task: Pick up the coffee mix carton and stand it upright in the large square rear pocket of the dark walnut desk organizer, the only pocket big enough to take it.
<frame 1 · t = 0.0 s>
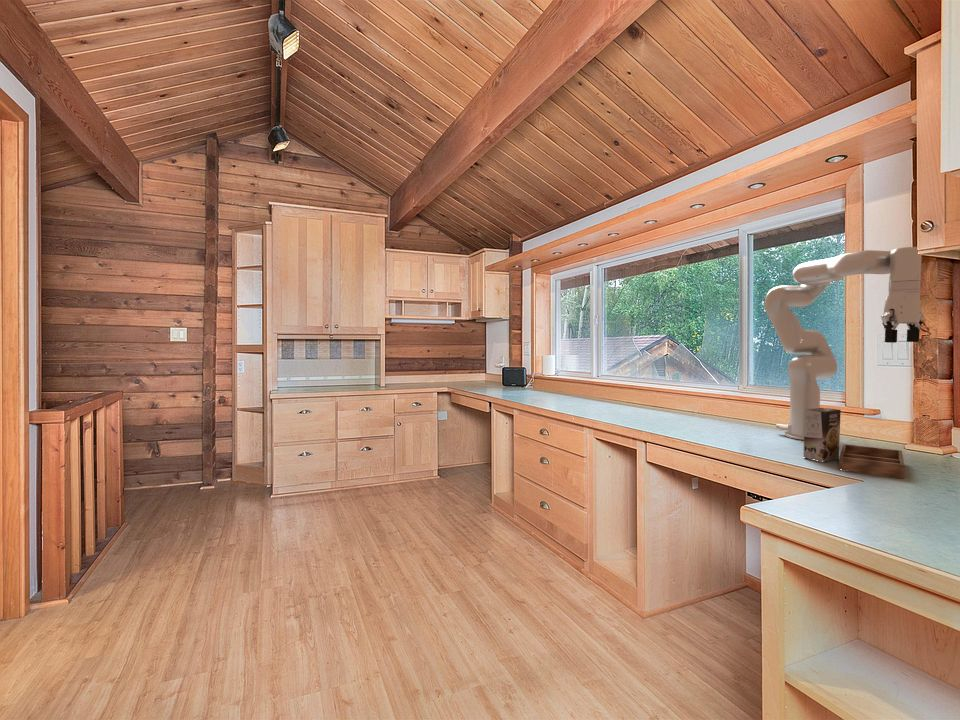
hand: (901, 342, 156), 37 cm above the counter, tool pointing down, fingers open, 9 cm apart
coffee box: (821, 459, 159), on the counter
organizer: (870, 466, 149), on the counter
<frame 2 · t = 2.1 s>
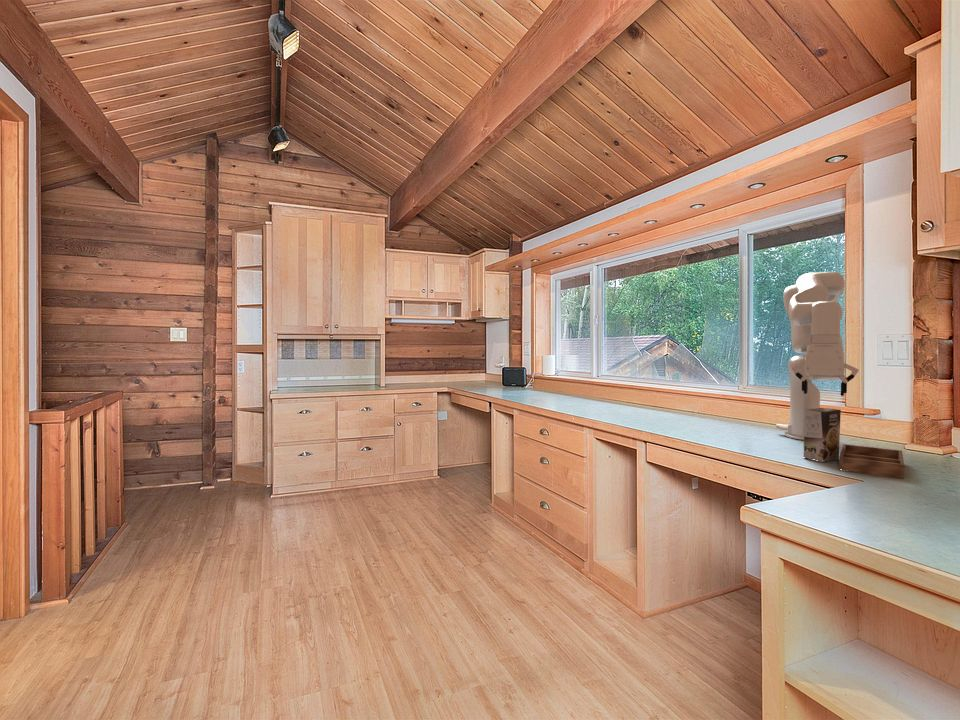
hand: (823, 394, 157), 21 cm above the counter, tool pointing down, fingers open, 9 cm apart
nothing on the counter moved.
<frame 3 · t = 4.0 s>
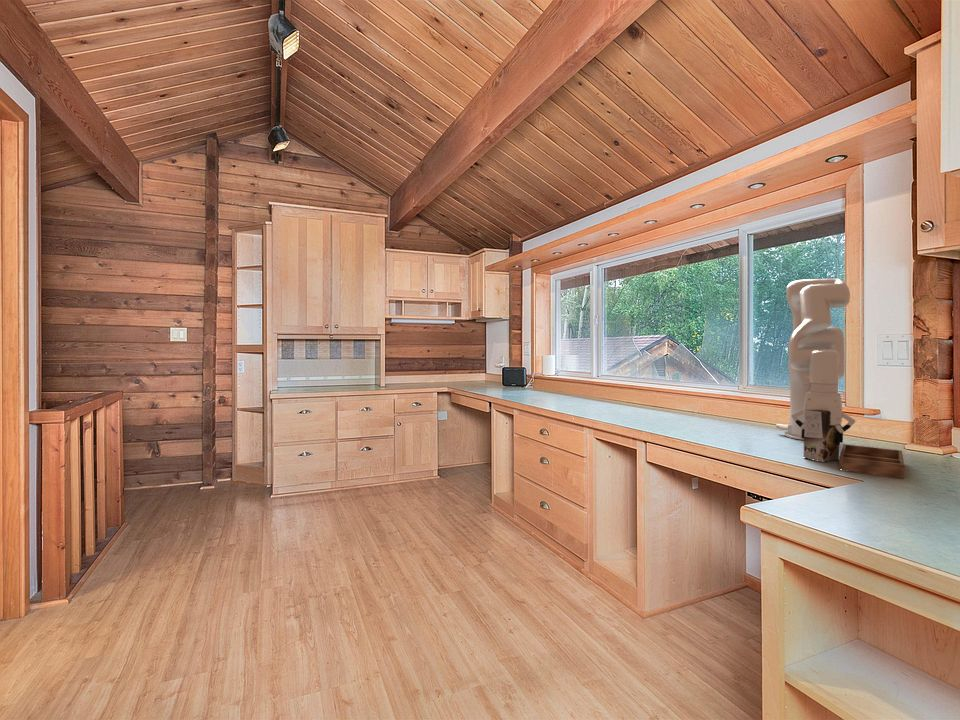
hand: (821, 442, 158), 5 cm above the counter, tool pointing down, fingers closed on coffee box, 8 cm apart
coffee box: (821, 459, 159), on the counter, touching gripper
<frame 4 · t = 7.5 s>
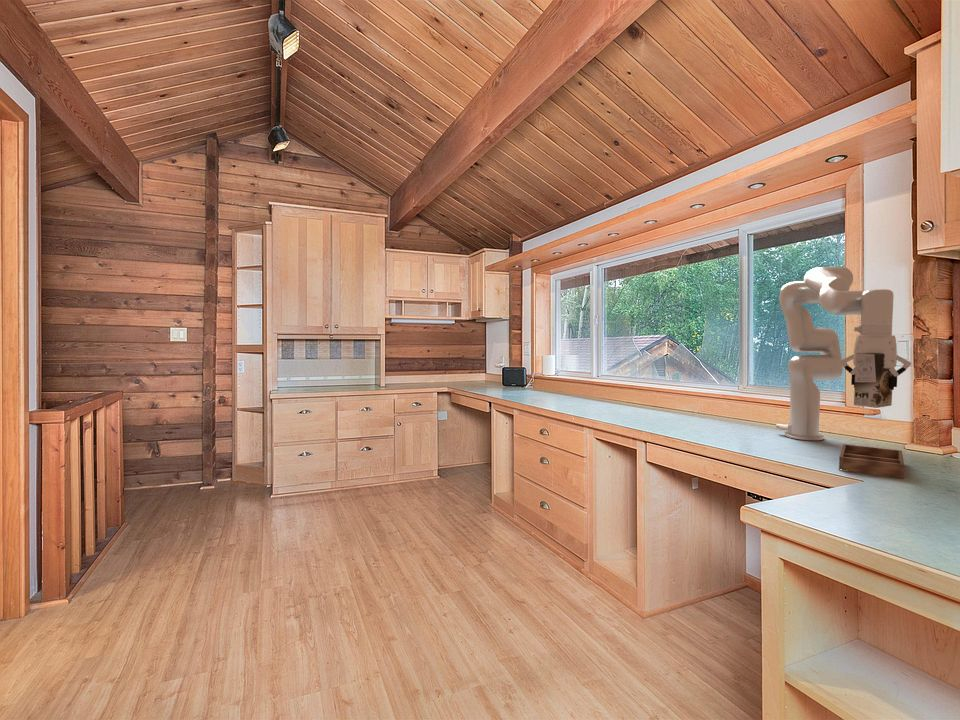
hand: (873, 388, 150), 24 cm above the counter, tool pointing down, fingers closed on coffee box, 8 cm apart
coffee box: (872, 406, 150), point 18 cm above the counter, touching gripper
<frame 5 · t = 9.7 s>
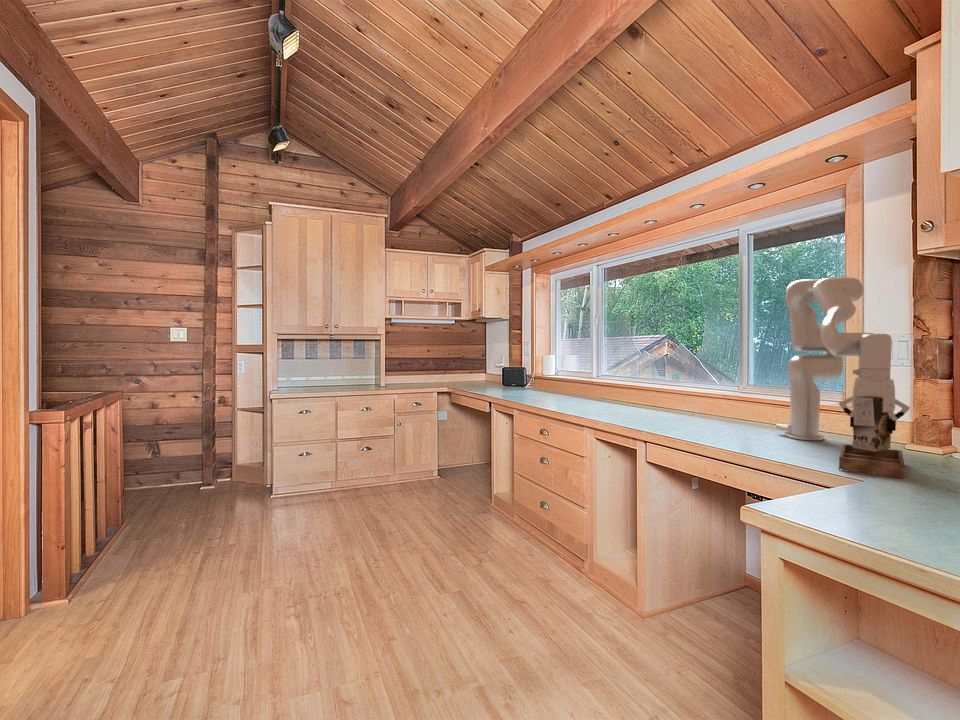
hand: (872, 431, 150), 10 cm above the counter, tool pointing down, fingers closed on coffee box, 8 cm apart
coffee box: (871, 448, 151), point 5 cm above the counter, touching gripper
when the fingers open (8 cm above the counter, at t = 11.4 s): coffee box drops 1 cm, resting on organizer.
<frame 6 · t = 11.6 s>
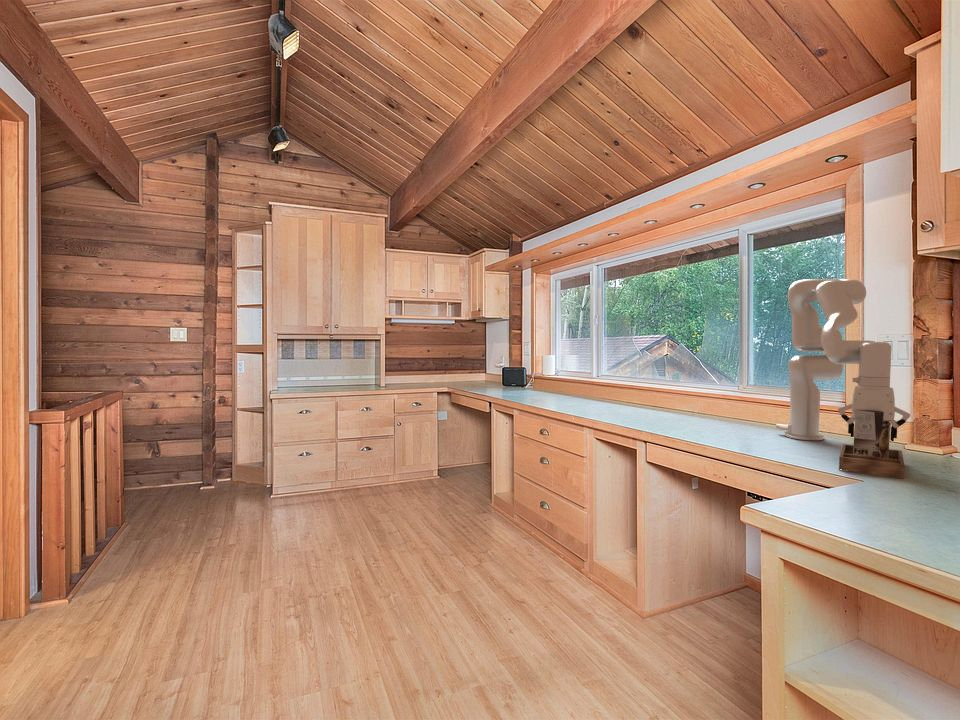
hand: (871, 438, 151), 8 cm above the counter, tool pointing down, fingers open, 9 cm apart
coffee box: (870, 461, 151), point 1 cm above the counter, touching organizer
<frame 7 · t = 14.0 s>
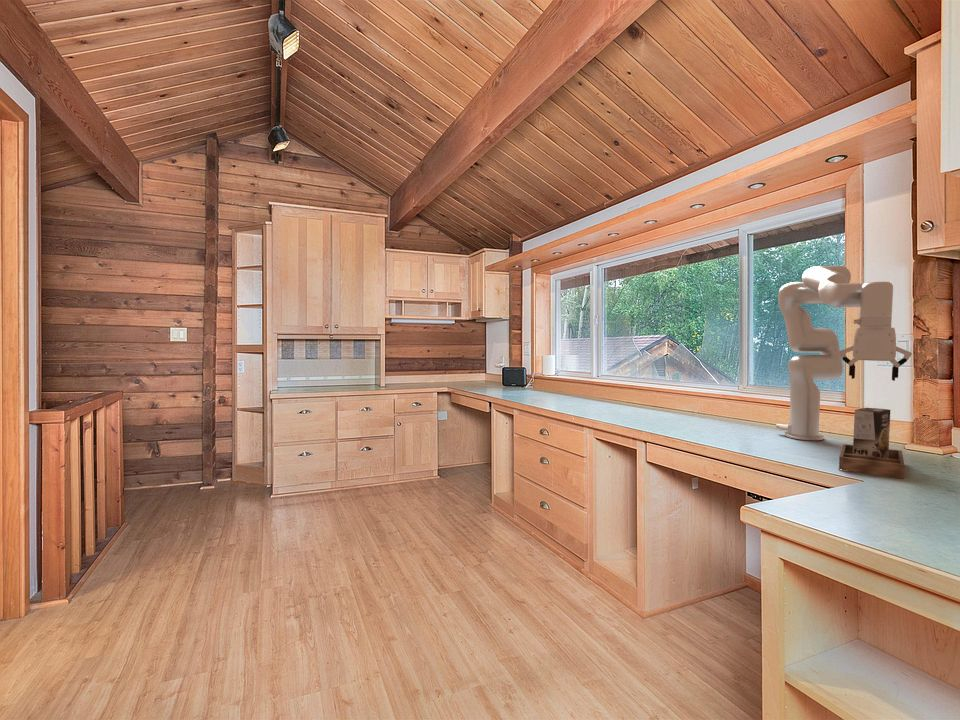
hand: (872, 379, 150), 26 cm above the counter, tool pointing down, fingers open, 9 cm apart
nothing on the counter moved.
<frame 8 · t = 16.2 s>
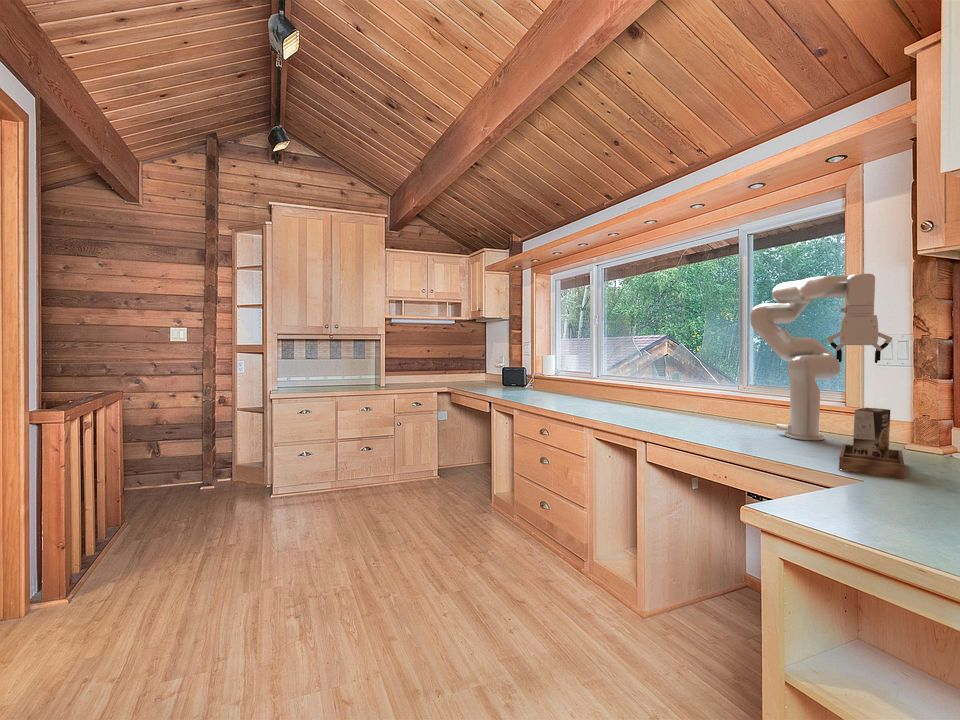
hand: (857, 362, 166), 30 cm above the counter, tool pointing down, fingers open, 9 cm apart
nothing on the counter moved.
at the end: coffee box inside the target area on the organizer (0.2 cm from its centre), point 0.8 cm above the organizer's base; coffee box tilted 0°; the gripper is holding nothing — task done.
